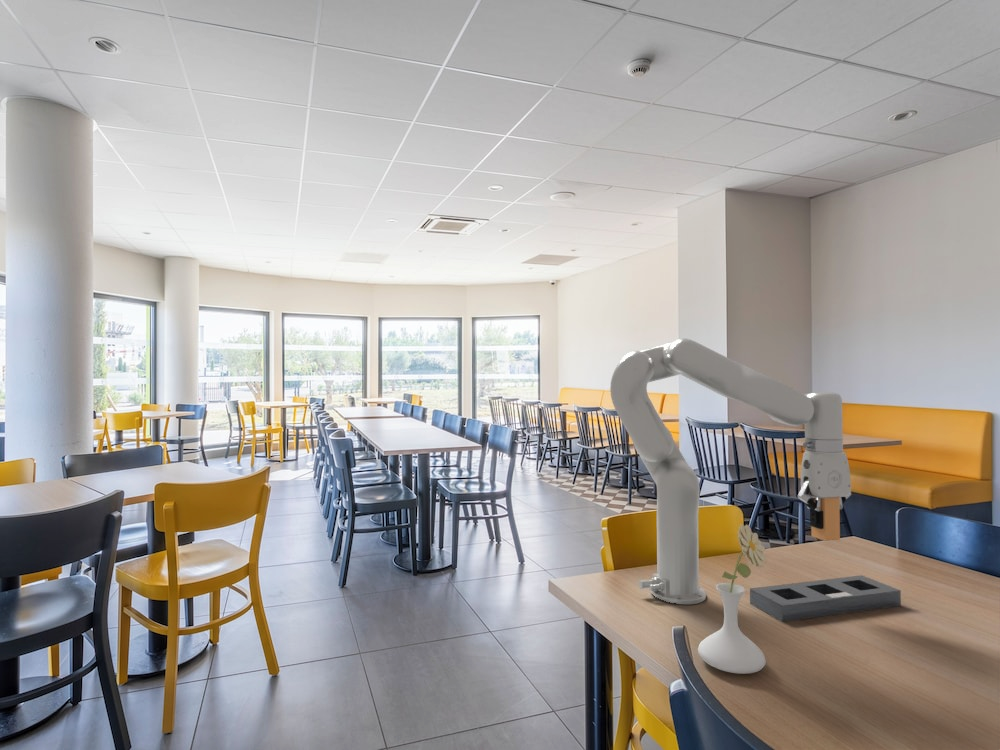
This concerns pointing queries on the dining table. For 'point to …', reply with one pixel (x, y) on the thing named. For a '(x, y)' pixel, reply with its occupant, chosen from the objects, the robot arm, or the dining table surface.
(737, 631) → the flower in vase
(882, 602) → the peg board
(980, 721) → the dining table surface
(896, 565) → the dining table surface
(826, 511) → the square peg
